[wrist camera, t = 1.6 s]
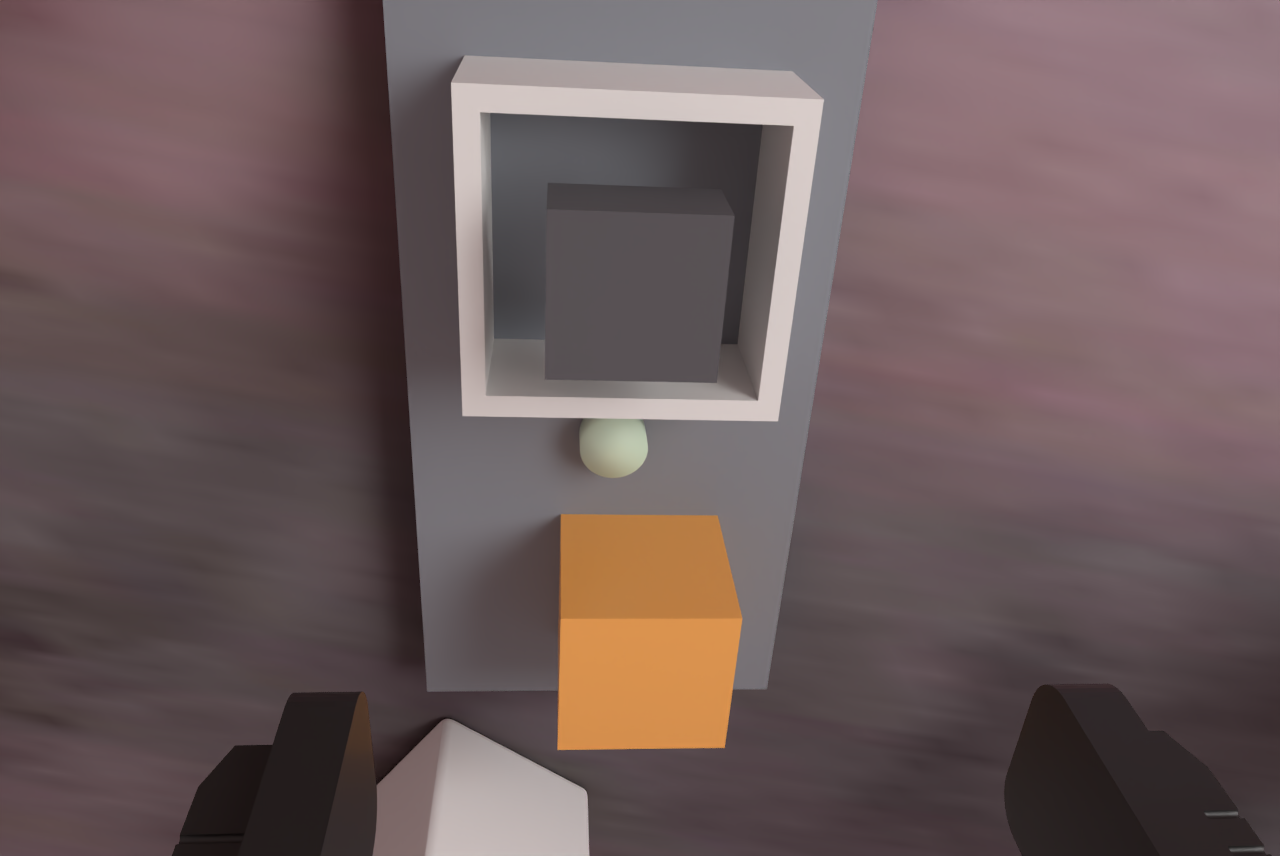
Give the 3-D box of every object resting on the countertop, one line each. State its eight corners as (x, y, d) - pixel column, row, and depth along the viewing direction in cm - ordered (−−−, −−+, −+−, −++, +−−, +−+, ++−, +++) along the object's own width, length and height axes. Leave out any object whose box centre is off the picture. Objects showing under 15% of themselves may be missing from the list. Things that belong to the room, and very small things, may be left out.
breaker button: (721, 189, 23) (734, 215, 21) (705, 347, 25) (716, 382, 23) (547, 182, 23) (546, 209, 21) (545, 343, 25) (544, 379, 23)
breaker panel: (863, -57, 26) (933, -40, 21) (757, 650, 37) (785, 765, 33) (390, -86, 25) (349, -73, 20) (433, 652, 36) (414, 770, 32)
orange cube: (717, 515, 32) (742, 618, 27) (703, 635, 34) (724, 747, 30) (560, 514, 31) (560, 618, 27) (557, 636, 34) (557, 749, 29)
